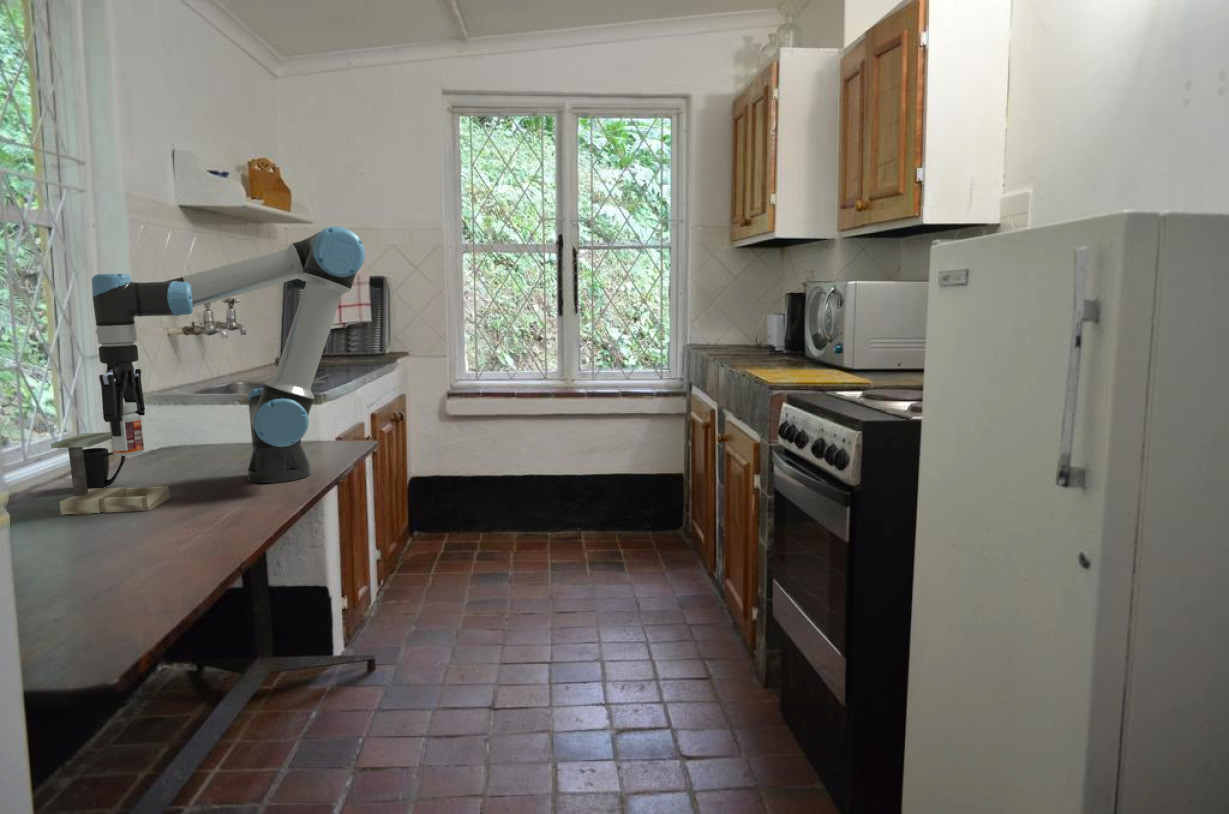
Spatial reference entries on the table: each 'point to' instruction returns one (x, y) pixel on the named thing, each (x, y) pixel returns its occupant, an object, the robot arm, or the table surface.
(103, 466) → the mug
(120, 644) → the table surface
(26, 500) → the table surface
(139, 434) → the pill bottle
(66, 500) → the socket block
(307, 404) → the robot arm
